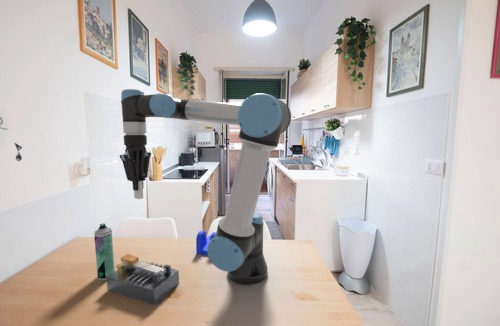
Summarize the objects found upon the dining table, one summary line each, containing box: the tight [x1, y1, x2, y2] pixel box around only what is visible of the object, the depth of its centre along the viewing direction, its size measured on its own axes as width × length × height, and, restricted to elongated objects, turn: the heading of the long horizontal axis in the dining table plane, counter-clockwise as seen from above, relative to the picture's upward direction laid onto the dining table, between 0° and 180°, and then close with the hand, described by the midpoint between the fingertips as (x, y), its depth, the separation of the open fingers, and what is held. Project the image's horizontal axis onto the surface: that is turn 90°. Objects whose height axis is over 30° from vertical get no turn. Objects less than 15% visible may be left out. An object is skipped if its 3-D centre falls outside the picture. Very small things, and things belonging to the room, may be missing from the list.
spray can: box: [93, 223, 116, 281], centre depth 90 cm, size 6×6×20 cm
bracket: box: [195, 230, 217, 256], centre depth 116 cm, size 18×8×9 cm, turn 169°
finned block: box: [106, 261, 180, 306], centre depth 85 cm, size 20×12×9 cm, turn 69°
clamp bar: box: [120, 253, 167, 277], centre depth 84 cm, size 17×3×3 cm, turn 69°
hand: (138, 198), depth 92 cm, fingers closed
